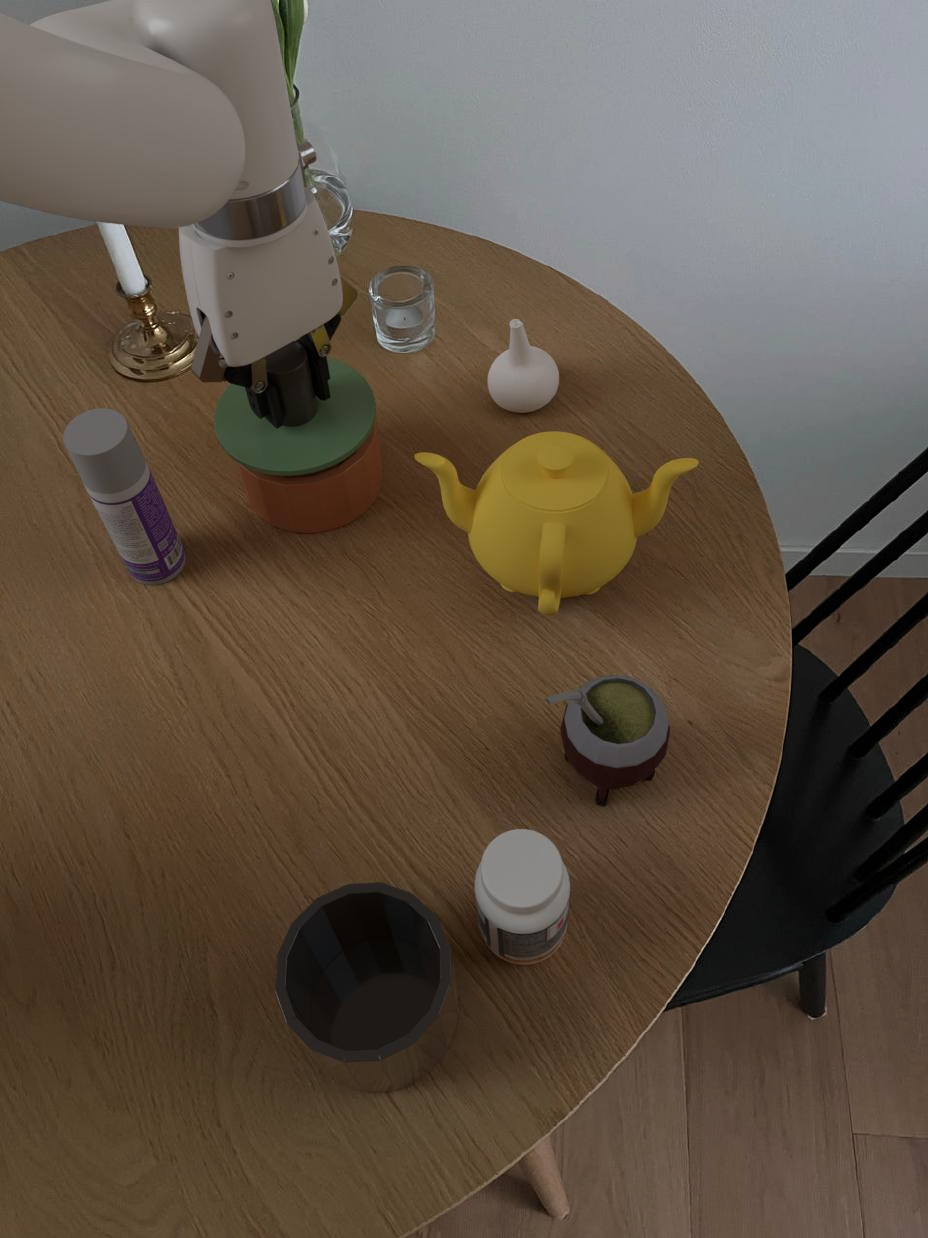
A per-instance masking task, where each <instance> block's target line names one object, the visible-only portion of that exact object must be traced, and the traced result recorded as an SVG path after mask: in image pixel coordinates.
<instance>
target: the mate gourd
mask: <svg viewBox="0 0 928 1238" xmlns="http://www.w3.org/2000/svg"><path fill="white" fill-rule="evenodd" d="M544 701H545V702H546V703H547V704H548V705H555V704H559V703H563V702H567V704H566V705H565V709H564V712H563V716H562V720H561V724H560V728H559V731H560V737H561V742H562V747H563V751H564V752H563V753H564V760H565V761H566V762H569V763H570V765H571V766H572V767H573V769H574V770H575V772H576V773H577V774H578V775H579V776H580V777H582V778H583V779H584V780H586V781H587V782H589V783H590V784H591V785H593V786H594V787H596V788H597V791H596V793H595V794H596V795H595V801H594V802H595V805H597V806H600V807H606V806H607V804H608V801H609V796H610V792H611V790H612V791H614V790H619V789H625V788H630V787H633V786H635V785H636V784H638V783H640V782H641V781H643V780H647V781H653V779H654V777H655V776H656V769H657V768H658V766H660V764H661V763H662V762H663V761H664V759H665V757H666V755H667V751H668V746H669V742H670V741H669V740H670V735H671V727H670V721H669V717H668V713H667V710H666V707H665V705H666V704H665V703H664V702H663V701H662V699H661V698H660V697H659V696H658V694H657V693H656V692H655V691H654V689H653V688H652V687H650V686H648V685H647V684H645V683H644V682H642V681H640V680H639V679H637V678H635V677H631V676H626V675H620V674H612V675H603V676H597V677H595V678H594V679H591V680H590V681H588V682H586V683H584V684H582V685H580V686H579V687H578V688H577V689H576V690H575V689H574V690H567V691H563V692H561V693H557V694H554V695H550V696H547V697H544Z"/></svg>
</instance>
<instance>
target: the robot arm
mask: <svg viewBox="0 0 928 1238" xmlns="http://www.w3.org/2000/svg"><path fill="white" fill-rule="evenodd" d="M273 8H274V7H273V5H272V0H107V1H103V2H98V3H96V4H91V5H86V6H82V7H77V8H72V9H69V10H68V9H67V10H64V11H60V12H57V13H53V14H50V15H47V16H45V17H42V18H39V19H37V20H36V21H34V22H32V23H30V24H28V23H26V22H23V21H21V20H18V19H16V18H13V17H10V16H8V15H6V14H3V13H2V12H0V202H2V203H7V204H10V205H14V206H18V207H23V208H26V209H30V210H34V211H39V212H44V213H47V214H52V215H57V216H61V217H66V218H71V219H77V220H81V221H82V220H83V221H89V222H96V223H102V224H113V225H123V226H131V227H140V228H148V229H157V230H167V229H168V230H169V229H178V244H179V257H180V266H181V273H182V279H183V284H184V288H185V289H184V290H185V294H186V299H187V303H188V308H189V313H190V316H191V321H192V324H193V327H194V330H195V333H196V335H197V336H198V338H197V339H198V341H197V344H196V347H195V351H194V354H193V358H192V362H191V365H190V371H191V373H192V374H193V375H194V376H195V377H196V378H197V379H198V380H199V381H200V382H202V383H222V382H227V383H228V384H234V385H238V386H242V387H245V390H246V393H247V397H248V401H249V404H250V407H251V409H252V411H253V412H254V414H255V415H256V416H257V417H258V418H260V419H262V418H263V417H265V418H266V419H267V420H268V421H269V422H270V423H271V424H272V425H273V426H274V427H275V428H276V429H278V428H279V427H281V426H283V423H284V419H283V415H282V411H281V407H280V402H279V398H278V394H277V390H276V388H275V386H274V385H273V384H272V383H271V382H270V381H268V380H267V367H266V356H267V355H268V354H270V353H272V352H274V351H276V350H278V349H280V348H281V347H283V346H285V345H287V344H289V343H291V342H292V341H296V342H298V343H300V344H301V345H302V346H303V347H304V348H305V349H306V352H307V356H308V361H309V366H310V371H311V376H312V381H313V386H314V391H315V395H316V396H317V397H318V398H319V399H320V400H321V401H322V400H324V401H326V400H327V399H329V398H331V396H330V390H329V385H328V380H330V373H329V368H328V362H327V358H328V355H330V353H331V352H332V348H333V346H332V343H331V340H332V339H333V337H334V335H335V333H336V331H337V329H338V327H339V326H340V324H341V321H342V315H343V316H344V315H345V314H346V313H347V311H348V310H349V309H350V308H351V307H352V305H353V303H355V301H356V300H357V298H358V295H359V294H358V291H357V289H355V288H354V287H353V286H352V285H351V284H350V283H348V282H347V281H346V279H344V278H343V277H342V276H341V274H340V269H339V264H338V259H337V256H336V252H335V248H334V245H333V242H332V238H331V234H330V231H329V228H328V226H327V223H326V221H325V218H324V216H323V213H322V210H321V208H320V205H319V203H318V201H317V198H316V196H315V194H314V192H313V190H312V189H311V187H310V186H309V185H308V184H307V181H306V180H307V179H306V174H305V170H306V169H308V167H309V165H312V164H314V163H316V161H317V153H316V150H315V148H314V146H313V145H312V143H311V142H309V141H308V140H305V141H304V142H302V143H297V138H296V132H295V126H294V121H293V114H292V108H291V103H290V97H289V91H288V85H287V79H286V73H285V67H284V63H283V57H282V52H281V46H280V39H279V34H278V29H277V24H276V18H275V13H274V9H273ZM221 356H223V357H221Z"/></svg>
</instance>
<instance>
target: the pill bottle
mask: <svg viewBox="0 0 928 1238" xmlns="http://www.w3.org/2000/svg"><path fill="white" fill-rule="evenodd" d="M571 892H572V891H571V881H570V876H569V872H568V870H567V867H566V864H565V863H564V861H563V859H562V856H561V853H560V851H559V849H558V847H557V846H556V845H555V844H554V842H553V841H551V840H550V838H548V837H547V836H546V835H544V834H543V833H540V832H538V831H537V830H532V829H527V828H515V829H510V830H507V831H504V832H502V833H500V834H498V835H497V836H496V837H494V839H492V840H491V841H490V842H489V844H488V845H487V847H486V848H485V850H484V852H483V854H482V857H481V861H480V863H479V865H478V868H477V869H476V872H475V876H474V897H475V904H476V910H477V911H476V913H477V923H478V928H479V930H480V934H481V937H482V939H483V941H484V943H485V944H486V946H487V947H488V948H489V950H490V951H491V952H492V953H493V954H494V955H495V956H497V957H498V958H500V959H501V960H503V961H505V962H507V963H509V964H515V965H521V966H522V965H523V966H524V965H525V966H527V965H533V964H534V965H535V964H538V963H540V962H543V961H545V960H546V959H548V958H550V957H551V956H552V955H553V954H555V953H556V952H557V950H558V949H559V948H560V946H561V945H562V943H563V941H564V940H565V937H566V934H567V930H568V924H569V913H570V912H569V911H570V910H569V909H570V900H571V899H570V897H571Z"/></svg>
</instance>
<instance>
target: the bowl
mask: <svg viewBox="0 0 928 1238" xmlns="http://www.w3.org/2000/svg"><path fill="white" fill-rule="evenodd" d="M234 462H235V466H236V468H237V471H238V474H239V477H240V480H241V483H242V486H243V489H244V492H245V494H246V496H247V499H248V501H249V504H250V506H251V507H252V509H253V511H254V512H255V513H256V514H257V515H258V517H260V518H261V519H262V520H264V522H266V523H268V524H269V525H272V526H274V527H275V528H278V529H281V530H284V531H287V532H291V533H299V534H314V533H315V534H316V533H323V532H327V531H332V530H335V529H338V528H341V527H343V526H345V525H348V524H349V523H352V522H353V521H355V520H356V519H358V518H359V517H361V516H362V515H364V513H365V512H366V511H368V510H369V509H370V508H371V506H372V505H373V504H374V503H375V501H376V499H378V496H379V495H380V492H381V490H382V486H383V482H384V467H383V466H384V460H383V453H382V447H381V440H380V434H379V428H378V422H377V418H376V419H375V422H374V426H373V428H372V430H371V432H370V434H369V436H368V437H367V439H366V440H365V442H364V443H363V444H362V445H361V446H360V447H359V448H358V449H357V450H356V451H355V452H354V453H353V454H352V455H350V456H349V457H347V458H346V459H344V460H343V461H341V462H339V463H337V464H335V465H333V466H331V467H329V468H326V469H324V470H320V471H317V472H314V473H309V474H304V475H295V476H278V475H269V474H264V473H260V472H257V471H254V470H251V469H248V468H246V467H244V466H242V465H241V464H239V463H237V462H236V461H234Z"/></svg>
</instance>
